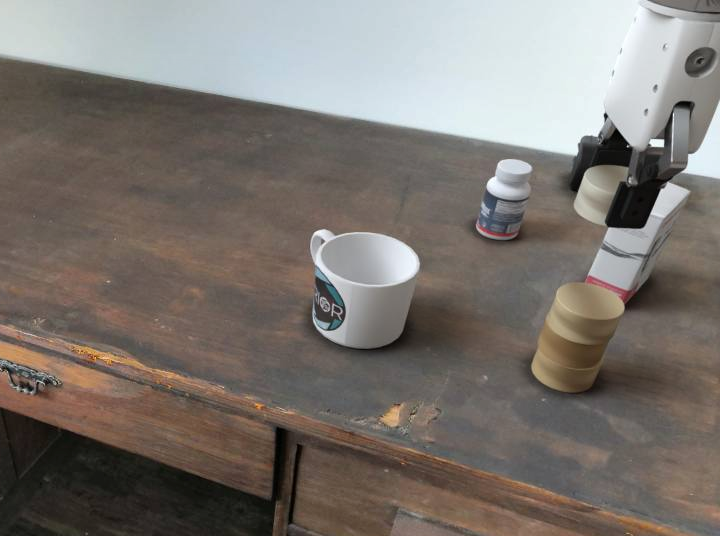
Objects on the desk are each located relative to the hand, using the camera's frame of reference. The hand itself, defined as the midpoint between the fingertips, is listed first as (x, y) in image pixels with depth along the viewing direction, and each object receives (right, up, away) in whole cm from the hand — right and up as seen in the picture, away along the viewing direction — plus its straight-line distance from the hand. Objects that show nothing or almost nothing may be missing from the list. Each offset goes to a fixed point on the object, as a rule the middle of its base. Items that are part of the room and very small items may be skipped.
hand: (612, 205), depth 68 cm
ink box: (+12, -5, +22) cm, 25 cm away
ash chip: (0, 0, 0) cm, 1 cm away
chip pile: (0, -15, +10) cm, 18 cm away
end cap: (+19, +11, +39) cm, 45 cm away
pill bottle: (+1, +4, +31) cm, 31 cm away
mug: (-20, -8, +17) cm, 28 cm away
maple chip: (0, -10, +6) cm, 12 cm away
